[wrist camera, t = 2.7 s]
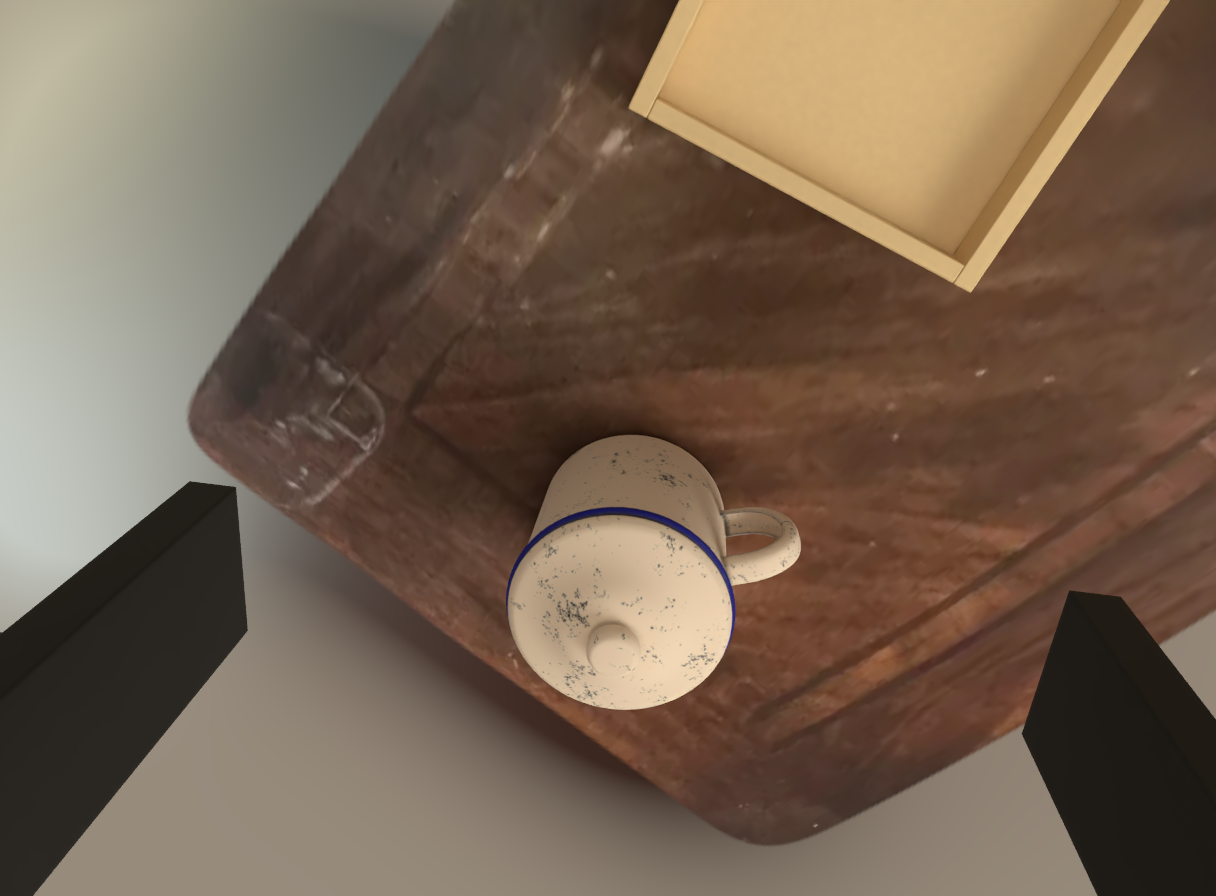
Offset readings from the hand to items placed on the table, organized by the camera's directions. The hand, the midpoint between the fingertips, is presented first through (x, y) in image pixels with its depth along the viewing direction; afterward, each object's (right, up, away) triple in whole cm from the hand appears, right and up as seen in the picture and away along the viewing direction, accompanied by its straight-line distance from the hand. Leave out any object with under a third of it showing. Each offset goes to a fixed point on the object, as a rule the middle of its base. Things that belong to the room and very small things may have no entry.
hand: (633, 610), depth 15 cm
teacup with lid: (+2, 0, +29) cm, 29 cm away
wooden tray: (+11, +19, +20) cm, 30 cm away
